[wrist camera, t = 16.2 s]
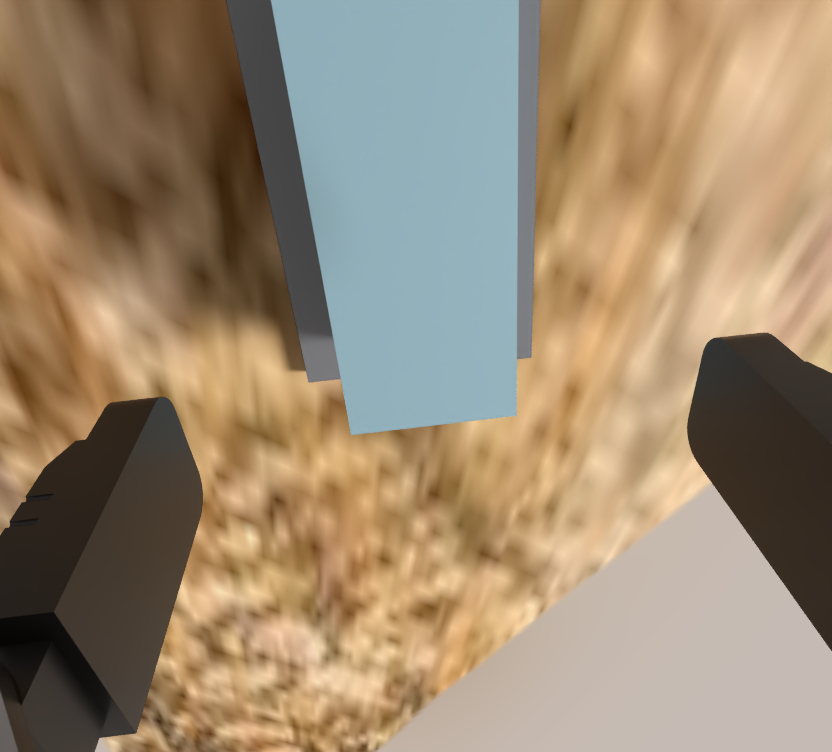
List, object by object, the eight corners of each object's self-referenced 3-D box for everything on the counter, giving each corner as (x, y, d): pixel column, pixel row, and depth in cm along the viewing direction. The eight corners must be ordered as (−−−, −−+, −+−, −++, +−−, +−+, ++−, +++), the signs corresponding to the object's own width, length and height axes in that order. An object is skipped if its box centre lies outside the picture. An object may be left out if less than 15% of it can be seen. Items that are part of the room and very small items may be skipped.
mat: (191, -185, 15) (183, -194, 15) (538, -218, 15) (546, -227, 15) (310, 371, 24) (308, 382, 24) (526, 347, 25) (531, 357, 24)
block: (291, -41, 16) (259, -59, 11) (470, -59, 16) (518, -85, 11) (353, 338, 23) (351, 434, 18) (482, 324, 23) (516, 415, 18)
